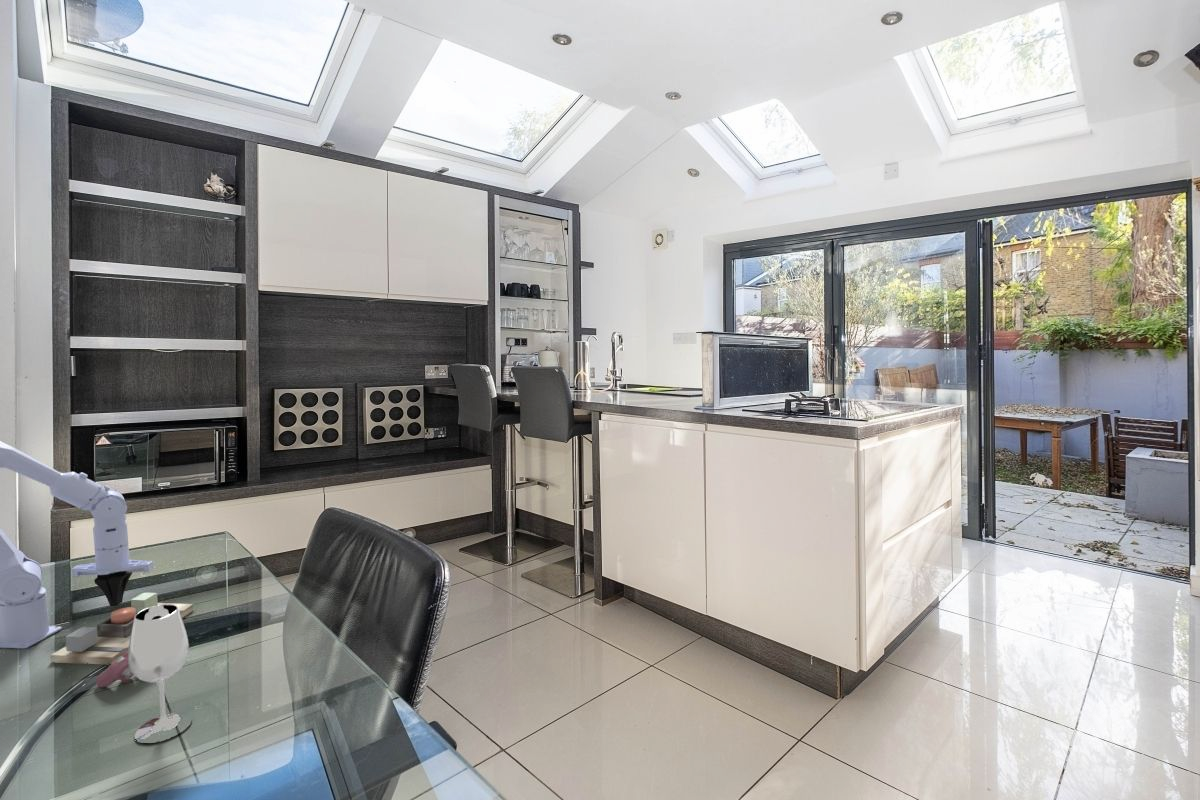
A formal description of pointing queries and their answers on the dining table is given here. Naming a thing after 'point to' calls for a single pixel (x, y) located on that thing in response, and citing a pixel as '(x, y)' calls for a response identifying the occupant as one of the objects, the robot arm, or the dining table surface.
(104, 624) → the control board
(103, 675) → the video game controller
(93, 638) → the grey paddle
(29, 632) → the robot arm
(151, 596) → the pale green block
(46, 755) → the dining table surface
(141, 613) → the wineglass
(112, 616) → the pink round button
